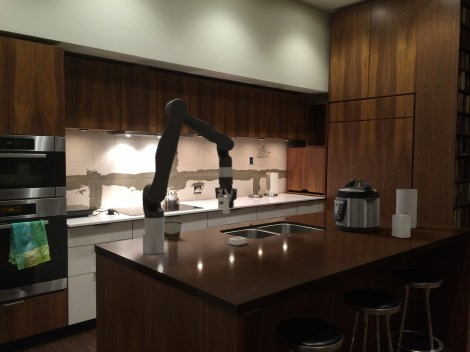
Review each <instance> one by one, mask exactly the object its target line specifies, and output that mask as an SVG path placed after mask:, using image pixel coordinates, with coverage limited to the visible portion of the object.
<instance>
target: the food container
mask: <svg viewBox="0 0 470 352" xmlns="http://www.w3.org/2000/svg"><path fill="white" fill-rule="evenodd" d="M182 224H183V222H182V219H179V218H168V219H167V218H166V219H165V218H164V239H180V238H181V231H182V230H181V229H182Z"/></svg>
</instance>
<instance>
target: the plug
mask: <svg viewBox="0 0 470 352" xmlns="http://www.w3.org/2000/svg"><path fill="white" fill-rule="evenodd" d="M217 209H218V210H222V214H225V215H228V214H230V212H231V210H232V209H235V200H234V201H233V208H229V198H228V197H227V195H225V196H224V197H218V199H217Z"/></svg>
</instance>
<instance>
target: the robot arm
mask: <svg viewBox="0 0 470 352" xmlns="http://www.w3.org/2000/svg"><path fill="white" fill-rule="evenodd" d="M164 111H165V113H166V115H167V117H168V120H167V124H166V126H165V128H164V130H163V133H162V134H161V136H160V138H159V140H158V143H157V146H156V151H155V156H154V166H155V167H154V169H155V171H154V176H153V178H152V182H151V183H150V182H149V183H147V184H146V185H145V186H144V187H143V190H142V198H141V199H142V210H143V214H144V215H143V216H144V218H143V219H144V232H143V233H142V253H143V254H145V255H147V256H148V255H149V256H152V255H153V256H154V255H161V254H164V253H165V238H164V220H165V212H164V209H163V207H162V202H164V201H165V199H166V197H167V193H168V187H169V180H170V176H171V175H170V174H171V171H172V168H173V164H174V160H175V157H176V153H177V150H178V145H179V141H180V138H181V137H180V136H181V132H182V129H183V125H184V126H185V127H187V128H189V129H190V130H192V131H194V132H195V133H196V134H198V135H199V136H201V137H202V138H203V139H205V140H206V141H209V142H210V143H212V144H215V145H216V152H217V153H216V154H217V156H218V185H219V187H218V186H217V187H214V191H215V199H216V200H218V197H225V196H226V197H228V198H229V208H233V201H234V202H235V200H238V199H237V195H238V188H234V187H233V185H234V171H233V158H232V156H231V155H230V151H232V150H233V149H234V148H235V143H234V140H233V139H232V138H231V137H230V136H228V135H226V134H225V133H222V132H220V131H219V130H217V128H215V127H213V126H212V125H211V124H209V123H207V122H206V121H204V120H201V119H199V118H198V117H195V116H194V115H192V114H190V113H189V106H188V103H187V101H186V100H184V99H183V98H175V99H173V100H171V101H169V102H167V104H166V105H165V107H164Z"/></svg>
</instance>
